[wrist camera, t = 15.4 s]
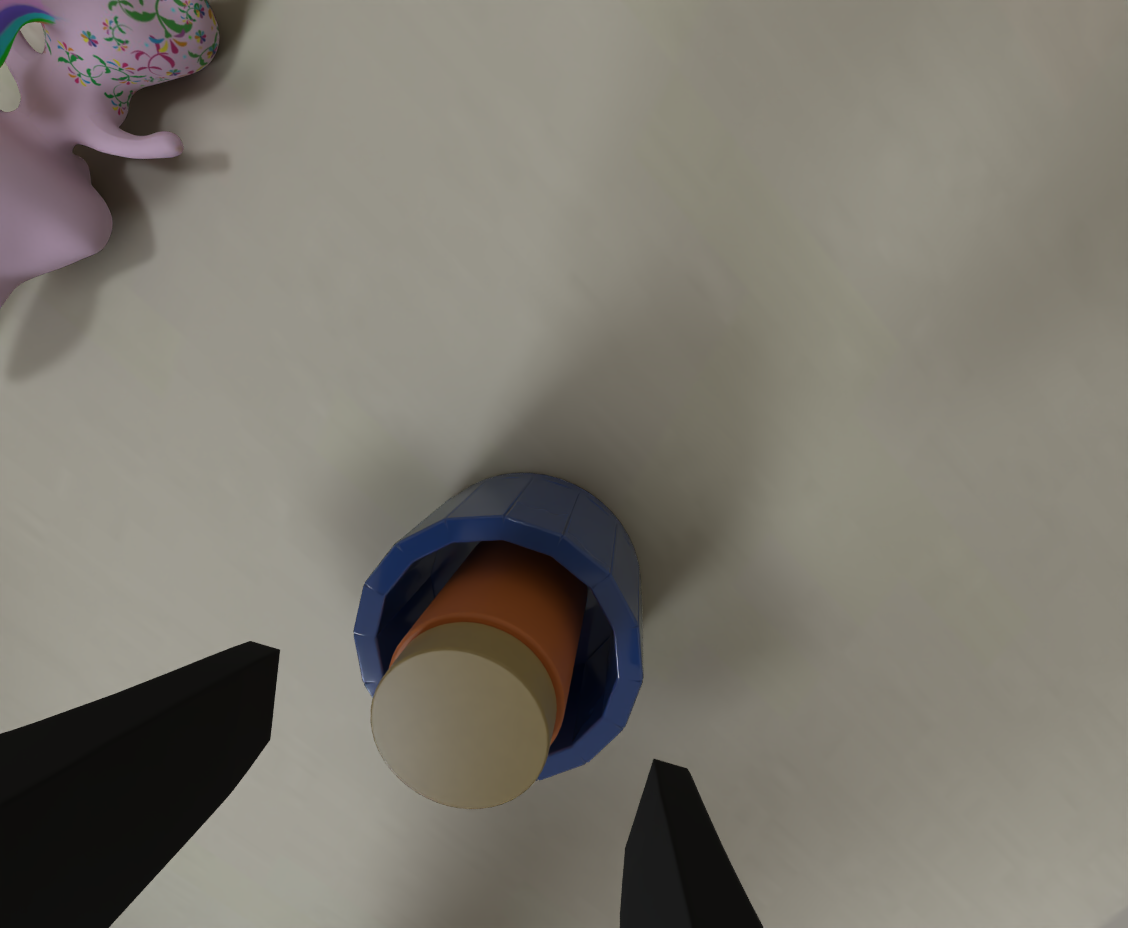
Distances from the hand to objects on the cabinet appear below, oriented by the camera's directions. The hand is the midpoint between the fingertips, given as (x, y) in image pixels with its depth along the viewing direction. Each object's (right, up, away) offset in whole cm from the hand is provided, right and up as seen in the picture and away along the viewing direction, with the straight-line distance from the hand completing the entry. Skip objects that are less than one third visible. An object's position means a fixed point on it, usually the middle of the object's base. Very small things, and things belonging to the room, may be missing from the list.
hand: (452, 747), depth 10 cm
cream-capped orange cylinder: (+1, +2, +6) cm, 7 cm away
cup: (+1, +2, +7) cm, 7 cm away
